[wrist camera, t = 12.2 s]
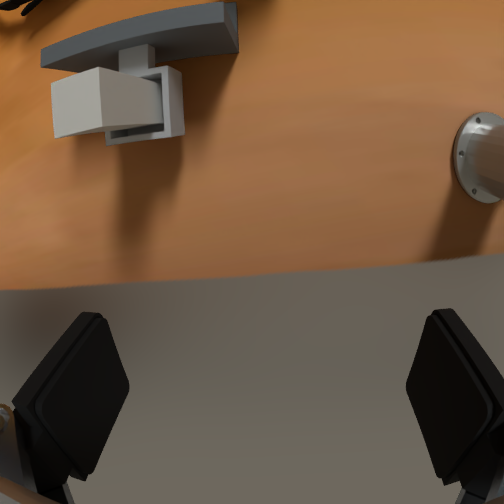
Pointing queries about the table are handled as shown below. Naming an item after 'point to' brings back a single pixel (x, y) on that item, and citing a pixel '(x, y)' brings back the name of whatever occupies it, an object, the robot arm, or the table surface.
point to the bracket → (151, 55)
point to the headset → (14, 3)
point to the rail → (104, 102)
